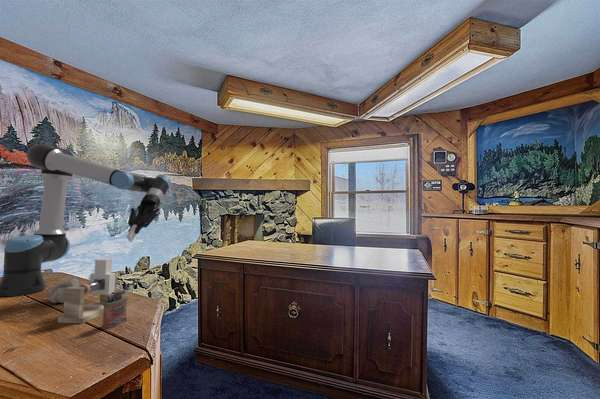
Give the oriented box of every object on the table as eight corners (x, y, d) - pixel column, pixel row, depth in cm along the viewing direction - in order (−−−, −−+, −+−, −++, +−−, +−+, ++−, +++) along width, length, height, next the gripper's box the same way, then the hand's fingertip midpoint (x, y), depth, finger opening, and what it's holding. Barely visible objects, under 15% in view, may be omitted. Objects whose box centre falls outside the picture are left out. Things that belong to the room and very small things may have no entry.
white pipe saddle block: (95, 291, 106) (97, 258, 107) (114, 292, 106) (115, 258, 106) (89, 294, 103) (91, 259, 104) (108, 294, 103) (110, 260, 103)
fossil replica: (47, 307, 105) (81, 304, 113) (52, 284, 106) (85, 282, 113) (41, 298, 113) (73, 295, 120) (45, 276, 113) (77, 275, 121)
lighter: (108, 330, 86) (110, 295, 86) (98, 328, 87) (100, 294, 87) (129, 320, 94) (130, 288, 94) (120, 319, 95) (121, 288, 95)
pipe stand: (99, 304, 109) (100, 275, 109) (120, 305, 109) (121, 276, 109) (57, 322, 91) (59, 288, 91) (82, 323, 91) (84, 288, 91)
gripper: (168, 205, 139) (148, 244, 122) (141, 205, 139) (117, 244, 122) (163, 193, 134) (141, 232, 117) (135, 193, 134) (109, 232, 117)
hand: (129, 238), depth 119 cm, fingers closed
